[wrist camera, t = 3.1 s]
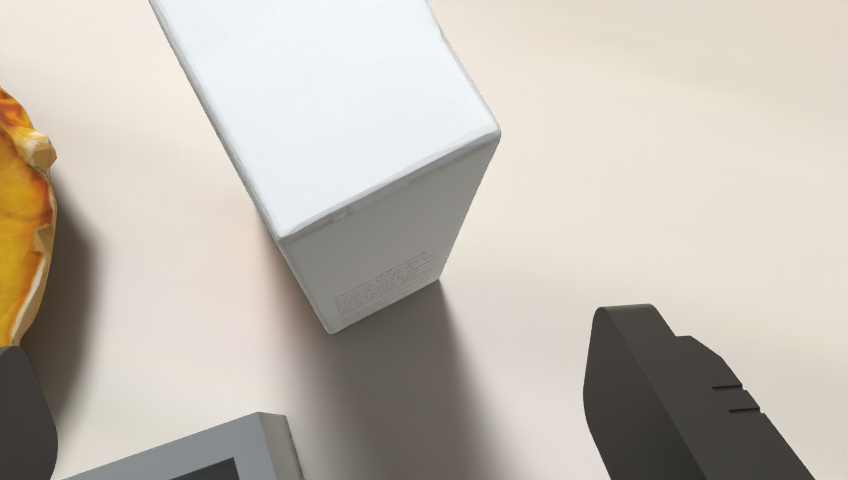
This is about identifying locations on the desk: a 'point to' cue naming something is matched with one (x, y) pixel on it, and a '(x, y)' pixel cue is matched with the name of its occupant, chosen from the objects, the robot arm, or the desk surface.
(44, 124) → the desk surface
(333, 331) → the skincare box
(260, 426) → the box
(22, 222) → the seashell
